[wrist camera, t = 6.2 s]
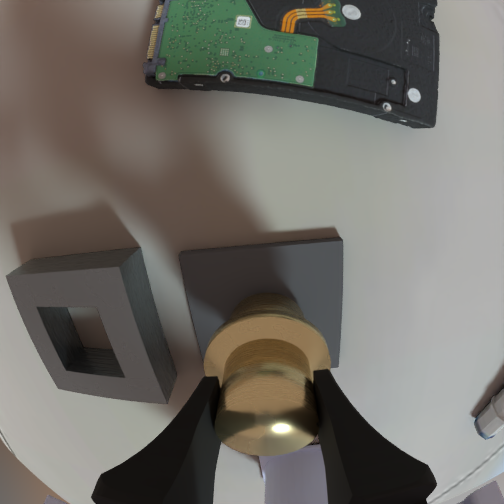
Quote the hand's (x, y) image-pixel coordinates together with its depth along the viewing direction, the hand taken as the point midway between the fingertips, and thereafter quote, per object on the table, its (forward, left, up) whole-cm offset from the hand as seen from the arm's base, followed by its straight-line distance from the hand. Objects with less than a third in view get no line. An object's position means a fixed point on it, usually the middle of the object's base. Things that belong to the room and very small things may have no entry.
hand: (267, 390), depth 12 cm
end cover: (0, 0, -5) cm, 5 cm away
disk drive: (-4, -17, -7) cm, 19 cm away
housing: (+12, 0, -6) cm, 14 cm away
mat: (0, 0, -6) cm, 6 cm away
